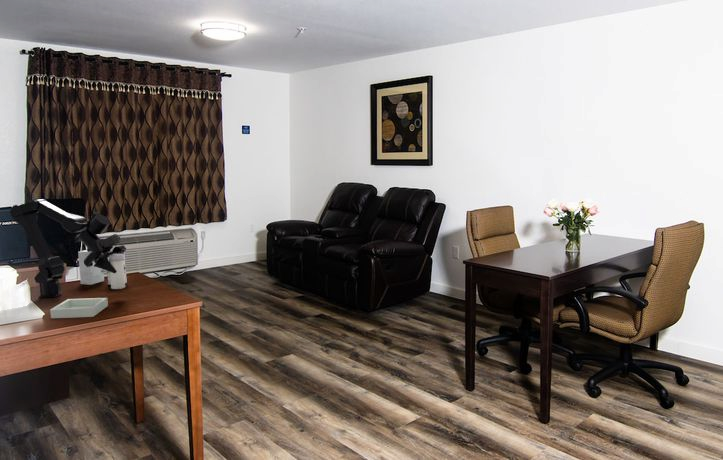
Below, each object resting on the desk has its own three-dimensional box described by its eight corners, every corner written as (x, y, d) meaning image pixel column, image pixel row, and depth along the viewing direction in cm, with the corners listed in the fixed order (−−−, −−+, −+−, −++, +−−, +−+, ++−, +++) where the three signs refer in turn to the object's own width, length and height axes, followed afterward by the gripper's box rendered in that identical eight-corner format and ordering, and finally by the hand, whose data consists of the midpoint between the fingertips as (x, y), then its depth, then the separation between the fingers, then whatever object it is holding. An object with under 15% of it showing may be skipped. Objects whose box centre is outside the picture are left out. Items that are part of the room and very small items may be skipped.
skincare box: (90, 285, 230) (88, 251, 228) (79, 284, 232) (77, 251, 230) (105, 281, 238) (102, 248, 236) (94, 280, 240) (92, 248, 238)
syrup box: (127, 282, 234) (125, 250, 232) (117, 285, 228) (115, 253, 227) (117, 281, 236) (115, 250, 234) (107, 284, 230) (104, 252, 228)
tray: (50, 318, 181) (50, 309, 181) (68, 307, 195) (68, 299, 195) (93, 316, 183) (92, 308, 182) (107, 305, 197) (107, 297, 196)
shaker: (108, 289, 202) (106, 256, 200) (113, 286, 207) (111, 253, 206) (122, 288, 203) (120, 255, 201) (127, 285, 208) (125, 253, 206)
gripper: (88, 231, 194) (116, 261, 193) (120, 225, 212) (146, 253, 211) (71, 251, 196) (99, 281, 196) (105, 244, 214) (130, 271, 214)
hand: (120, 271), depth 204 cm, fingers closed on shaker, 5 cm apart
